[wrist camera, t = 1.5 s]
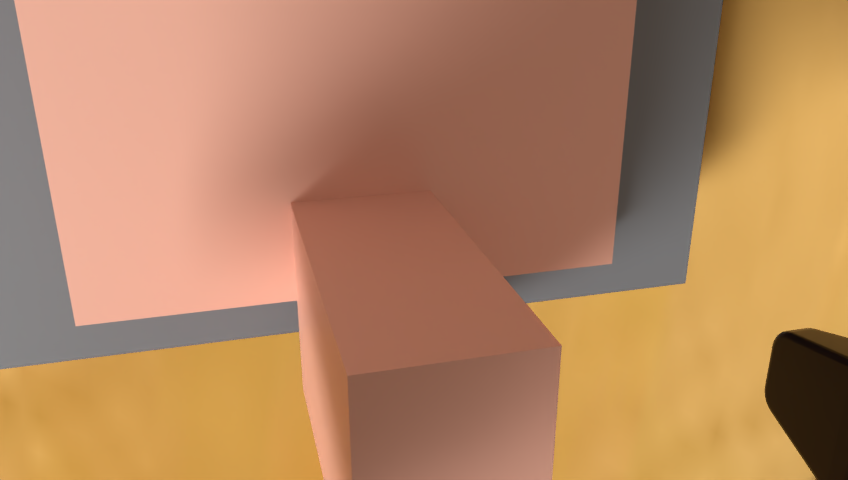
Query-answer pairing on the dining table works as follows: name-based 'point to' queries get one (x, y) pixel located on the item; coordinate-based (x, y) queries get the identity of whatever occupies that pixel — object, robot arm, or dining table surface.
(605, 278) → the grey slotted box
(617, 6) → the pink t-shaped block
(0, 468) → the dining table surface
